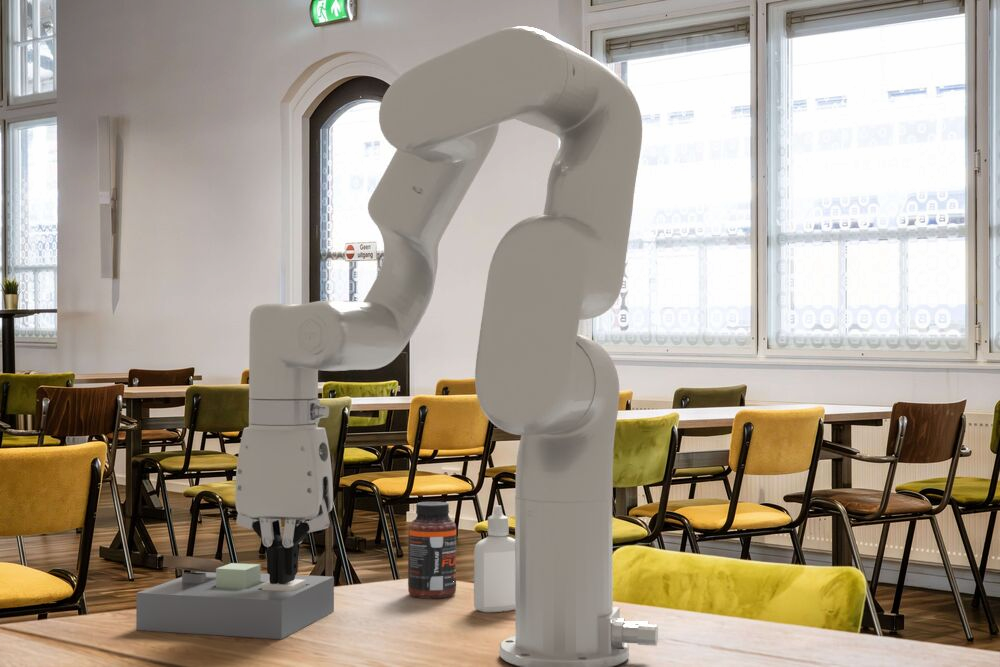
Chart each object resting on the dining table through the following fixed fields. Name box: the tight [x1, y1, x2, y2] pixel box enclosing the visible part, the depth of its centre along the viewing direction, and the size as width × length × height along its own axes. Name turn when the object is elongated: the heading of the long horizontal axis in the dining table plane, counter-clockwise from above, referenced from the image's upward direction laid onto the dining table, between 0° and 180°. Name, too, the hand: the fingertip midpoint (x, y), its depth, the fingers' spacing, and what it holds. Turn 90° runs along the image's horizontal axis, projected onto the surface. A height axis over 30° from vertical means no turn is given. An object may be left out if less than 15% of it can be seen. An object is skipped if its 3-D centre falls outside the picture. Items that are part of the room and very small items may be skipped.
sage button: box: [216, 562, 262, 589], centre depth 136 cm, size 4×4×3 cm
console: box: [135, 571, 335, 640], centre depth 136 cm, size 17×14×5 cm
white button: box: [262, 579, 306, 592], centre depth 134 cm, size 4×4×3 cm
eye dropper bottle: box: [473, 504, 515, 613], centre depth 141 cm, size 4×6×12 cm
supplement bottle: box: [407, 501, 457, 599], centre depth 150 cm, size 6×6×11 cm
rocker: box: [162, 554, 225, 573], centre depth 137 cm, size 3×8×1 cm, turn 165°
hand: (282, 581), depth 134 cm, fingers closed
